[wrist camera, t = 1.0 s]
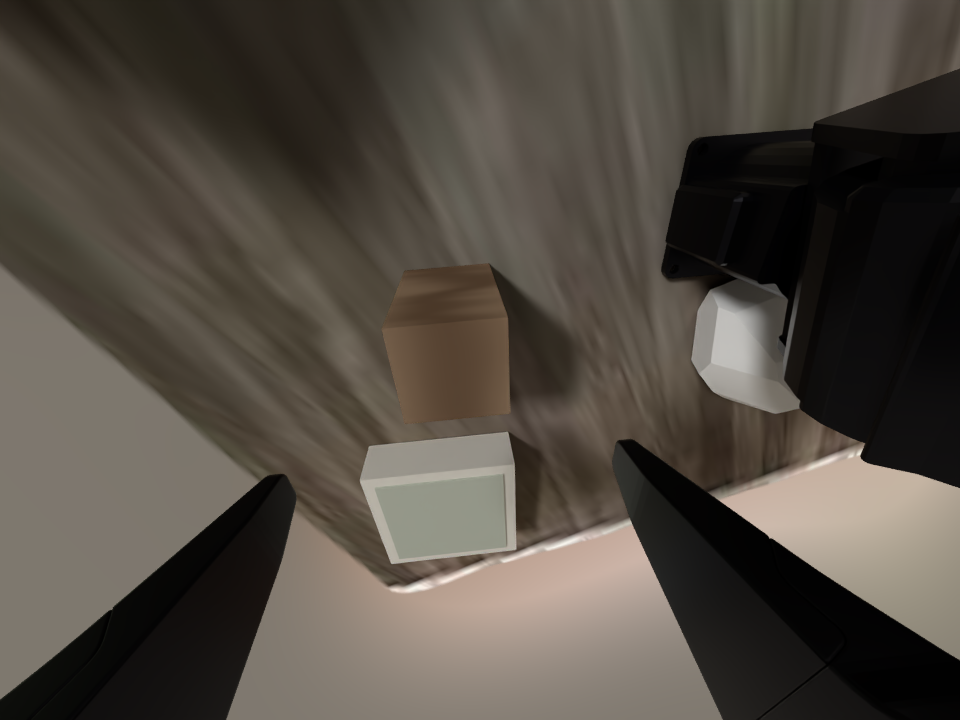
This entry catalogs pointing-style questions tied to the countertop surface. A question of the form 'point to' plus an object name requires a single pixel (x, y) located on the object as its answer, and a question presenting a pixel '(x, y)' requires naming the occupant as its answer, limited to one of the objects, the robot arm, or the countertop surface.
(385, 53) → the countertop surface
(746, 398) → the crystal
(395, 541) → the base slab
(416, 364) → the walnut block
